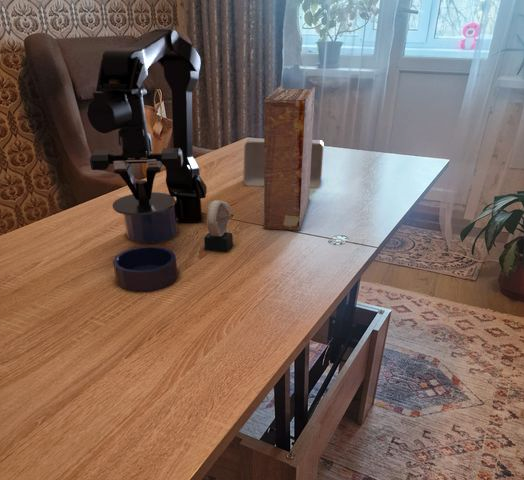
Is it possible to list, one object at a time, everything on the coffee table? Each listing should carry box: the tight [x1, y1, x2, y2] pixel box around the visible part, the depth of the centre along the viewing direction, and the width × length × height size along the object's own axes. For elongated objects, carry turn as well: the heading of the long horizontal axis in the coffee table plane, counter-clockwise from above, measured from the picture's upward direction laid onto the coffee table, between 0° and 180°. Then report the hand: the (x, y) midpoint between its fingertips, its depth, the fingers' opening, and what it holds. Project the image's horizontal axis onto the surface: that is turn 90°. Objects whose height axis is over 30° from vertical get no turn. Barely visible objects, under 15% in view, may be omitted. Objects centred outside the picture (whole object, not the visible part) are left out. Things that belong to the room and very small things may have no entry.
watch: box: [203, 199, 234, 253], centre depth 112 cm, size 6×8×11 cm
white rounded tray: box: [242, 137, 325, 189], centre depth 157 cm, size 25×16×12 cm, turn 83°
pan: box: [112, 245, 178, 293], centre depth 101 cm, size 13×13×4 cm
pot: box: [122, 191, 179, 244], centre depth 120 cm, size 13×13×8 cm
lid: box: [112, 179, 176, 215], centre depth 106 cm, size 14×14×6 cm
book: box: [263, 85, 316, 232], centre depth 125 cm, size 25×9×30 cm, turn 170°
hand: (143, 199), depth 107 cm, fingers closed on lid, 2 cm apart
